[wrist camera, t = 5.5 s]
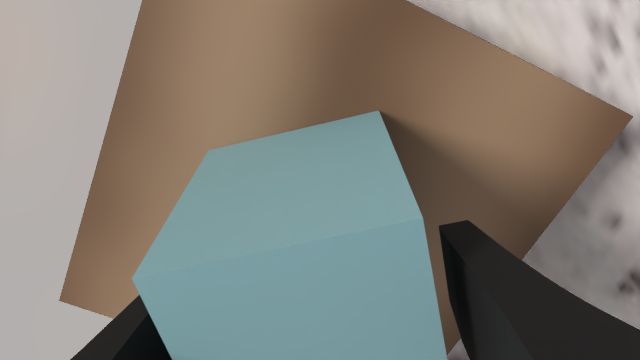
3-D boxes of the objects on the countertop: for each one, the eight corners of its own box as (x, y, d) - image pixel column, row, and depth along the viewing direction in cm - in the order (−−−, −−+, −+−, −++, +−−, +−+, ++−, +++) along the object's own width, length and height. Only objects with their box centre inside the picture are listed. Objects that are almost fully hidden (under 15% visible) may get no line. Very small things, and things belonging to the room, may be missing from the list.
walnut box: (567, 82, 15) (633, 116, 12) (388, 339, 20) (402, 412, 17) (210, -100, 13) (175, -117, 10) (106, 238, 18) (59, 300, 14)
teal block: (379, 110, 12) (422, 217, 7) (407, 256, 14) (459, 427, 9) (208, 150, 12) (131, 278, 7) (258, 287, 14) (224, 465, 9)
